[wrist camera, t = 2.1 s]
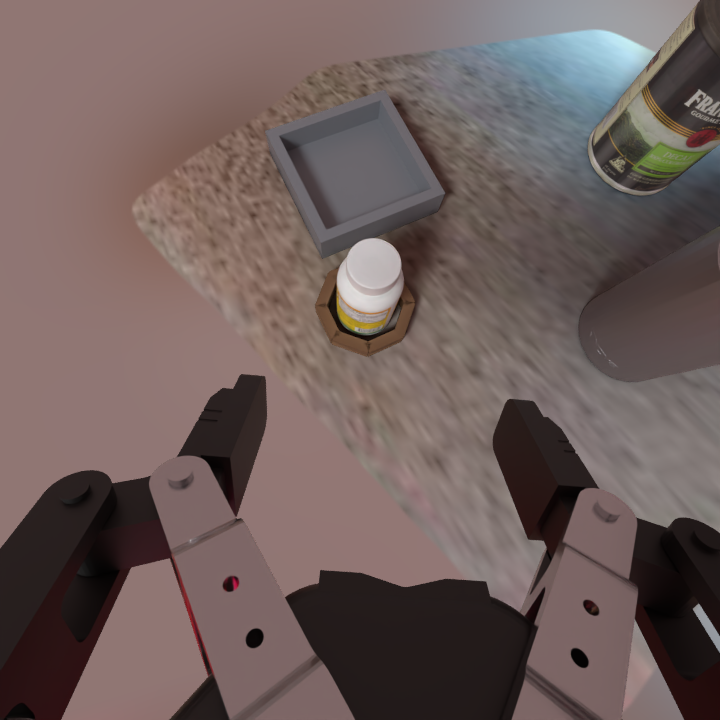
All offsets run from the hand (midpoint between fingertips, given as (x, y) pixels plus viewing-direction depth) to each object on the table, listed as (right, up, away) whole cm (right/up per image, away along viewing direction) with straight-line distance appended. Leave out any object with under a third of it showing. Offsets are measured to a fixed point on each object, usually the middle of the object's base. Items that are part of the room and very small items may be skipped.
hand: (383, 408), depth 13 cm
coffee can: (+29, +24, +30) cm, 49 cm away
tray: (-1, +20, +27) cm, 34 cm away
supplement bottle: (0, +6, +24) cm, 25 cm away
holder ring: (0, +6, +24) cm, 25 cm away
